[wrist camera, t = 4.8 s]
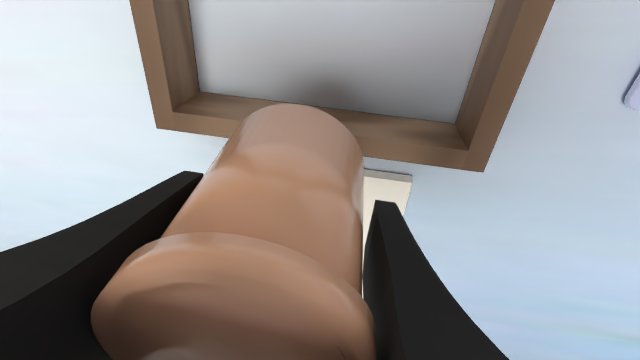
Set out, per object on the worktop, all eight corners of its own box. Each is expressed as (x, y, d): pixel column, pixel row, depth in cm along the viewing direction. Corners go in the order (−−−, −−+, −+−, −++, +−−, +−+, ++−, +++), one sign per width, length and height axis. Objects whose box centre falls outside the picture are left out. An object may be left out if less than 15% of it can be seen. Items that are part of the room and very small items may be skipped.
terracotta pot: (387, 106, 10) (409, 301, 5) (359, 233, 14) (354, 436, 8) (212, 84, 11) (40, 245, 5) (226, 214, 14) (132, 399, 8)
